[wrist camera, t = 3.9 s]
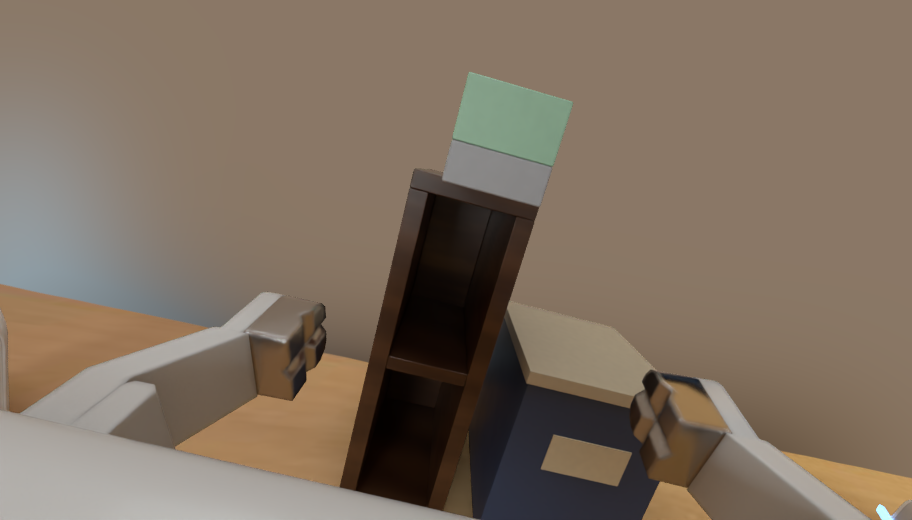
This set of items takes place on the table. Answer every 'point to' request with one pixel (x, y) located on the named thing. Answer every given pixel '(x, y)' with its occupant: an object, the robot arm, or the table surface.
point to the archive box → (558, 423)
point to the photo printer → (4, 365)
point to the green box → (505, 139)
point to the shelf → (434, 338)
